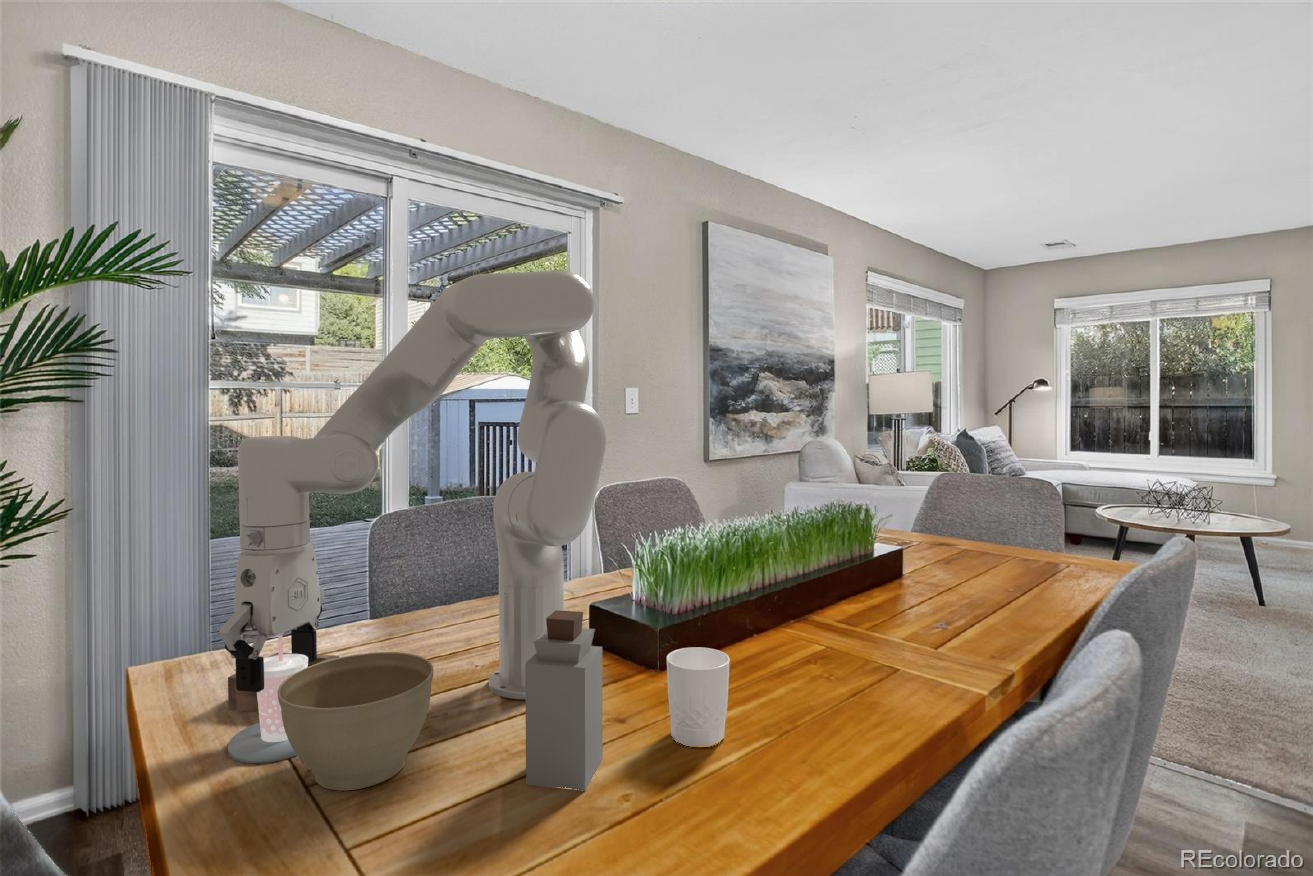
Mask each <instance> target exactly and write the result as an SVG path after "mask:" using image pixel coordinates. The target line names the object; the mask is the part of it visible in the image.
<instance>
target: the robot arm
mask: <svg viewBox="0 0 1313 876" xmlns="http://www.w3.org/2000/svg"><path fill="white" fill-rule="evenodd" d="M594 309H595V298H594V293H593V290H592V288H591V286H590V285H589V284H588V282H587V281H585V279H584V278H583V277H582V276H580V275H578V274H576V273H574V272H571V271H568V270H542V271H539V270H538V271H525V272H523V271H521V272H499V273H498V272H497V273H496V272H495V273H491V272H490V273H480V274H474V275H471V276H469V277H466V278H464V279H462V280H460V281H458V282H455V283H453V284H452V285H450V286H448V287H447V288H445V290H443V292H441V294H440V295H439V296H438V297H437V298H436V299H435V300H434V301H433V303H431V305H430V306H429V307H427V309H426V310H425V312H424V313H423V314H422V315H421V316H420V317H419V319H418V320H417V321H416V322H415V323H414V325H413V326H412V327H411V328H410V329H409V330H408V331H407V333H406V334H405V335H404V336H403V337H402V338H401V339H400V341H398V343H397V344H396V345H395V346H394V347H393V349H392V350H391V351H390V352H389V353H388V354H387V355H386V356H385V358H384V359H383V360H381V361H380V363H379V364H377V366H376V367H375V368H374V369H373V370H372V371H371V373H370V374H369V375H368V376H367V378H366V379H365V380H364V381H363V382H362V383H361V384H360V386H358V387H357V388H356V390H355V391H354V392H353V393H352V394H351V395H349V397H348V398H347V399H346V400H345V401H344V402H343V404H342V405H340V407H338V409H337V410H336V412H335V413H333V415H332V416H331V417H330V418H329V420H327V421H326V423H325V424H324V425H323V426H322V428H320V430H319V431H317V433H316V434H315V436H314V437H313V438H301V437H298V436H295V435H267V436H266V435H260V436H259V435H258V436H251V437H246V438H245V439H243V440H242V441H241V442H240V443H239V446H238V449H237V470H238V471H237V472H238V473H237V474H238V475H237V477H238V505H239V506H238V508H239V509H238V510H239V548H240V551H239V552H240V553H239V554H238V558H237V559H238V560H237V567H236V573H235V582H234V583H235V585H234V603H233V604H234V605H233V607H234V611H233V614H232V615H231V617H229V619H228V620H227V621H226V622H225V623H224V624H223V625H222V626H221V627H220V629H219V632H218V634H219V636H220V638H221V640H222V641H223V644H224V648H225V650H226V651H227V652H228V653H229V654H230V657H231V658H232V659H235V674H236V689H237V690H238V691H249V692H260V691H262V690H263V689H264V659H265V658H264V656H260V654H261V652H262V650H263V647H264V646H265V643H266V640H267V638H270V639H271V638H272V639H274V638H278V636H281V635H282V636H283V635H285V634H287V633H289V632H290V633H291V634H290V635H291V637H290V641H291V643H290V644H291V645H290V646H291V653H292V654H302V655H305V656H307V657H308V662H313V661H315V660H316V659H317V655H318V649H317V648H318V646H317V630H318V629H319V626H320V621H319V618H320V616H321V615H322V612H323V603H324V598H325V595H326V590H325V589H323V588H321V587H320V578H319V569H318V568H319V567H318V561H317V556H316V552H315V548H314V545H313V542H311V532H310V531H311V529H310V528H311V527H310V526H311V524H310V523H311V522H310V493H316V494H317V493H320V494H334V495H349V494H353V493H357V492H360V491H361V490H364V489H365V488H367V487H368V486H369V485H371V484H372V482H373V480H375V478H376V476H377V473H378V470H379V457H378V455H377V450H378V449H379V448H380V447H381V446H382V445H383V443H384V442H385V441H386V440H387V438H388V437H389V436H391V434H392V433H393V432H394V431H395V430H397V429H398V427H400V426H401V425H402V424H403V423H405V422H406V421H407V420H408V419H409V418H411V417H413V416H415V415H416V414H417V413H420V412H422V411H423V410H425V409H426V408H428V407H429V406H430V405H432V404H433V403H435V401H437V400H438V399H439V398H440V397H441V396H442V394H443V393H445V391H446V390H447V388H448V387H449V386H450V385H451V383H452V382H453V381H454V380H455V378H456V377H457V376H458V375H459V374H460V372H461V371H462V369H464V367H466V365H467V363H468V362H469V361H470V360H471V359H472V358H473V356H474V355H475V354H476V353H477V352H478V351H479V349H480V348H481V347H482V346H483V344H485V342H486V341H489V340H493V339H503V338H506V339H507V338H518V337H519V338H520V337H523V338H524V339H525V342H526V343H527V344H528V347H529V349H530V353H531V358H532V368H531V374H530V379H529V385H528V389H527V393H526V397H525V401H524V405H523V409H522V413H521V417H520V420H519V424H518V427H517V429H518V430H517V436H516V437H517V438H516V439H517V444H518V448H519V450H520V452H521V453H522V455H524V456H525V457H526V458H527V459H528V460H530V461H531V462H534V463H536V465H535V467H534V471H521V472H518V473H515V474H513V475H511V476H509V477H508V478H507V479H505V480H504V481H503V482H502V483H501V484H500V486H499V487H498V489H497V491H496V493H495V496H494V499H493V500H494V501H493V506H492V507H493V509H492V510H493V523H494V529H495V536H496V543H497V555H498V624H499V625H498V626H499V627H498V628H499V629H498V631H499V633H498V635H499V636H498V637H499V639H498V641H499V648H498V649H499V654H498V655H499V668H498V669H497V670H495V671H494V672H492V674H490V676H489V679H488V687H489V690H490V691H491V692H492V693H493V694H495V695H497V696H500V697H503V698H507V699H511V700H526V695H525V663H526V662H527V661H528V660H529V659H530V658H531V657H533V656H534V655H535V654H536V653H537V652H536V649H535V645H534V642H533V641H534V640H535V639H536V638H538V637H539V636H540V635H541V634H542V633H543V632H544V631H546V630H547V623H546V618H547V617H549V616H550V615H551V614H552V613H553V612H555V611H556V610H560V611H565V599H564V597H565V595H564V594H565V589H564V588H565V587H564V586H565V582H564V581H565V573H564V572H565V567H564V566H565V564H564V563H565V562H564V554H563V548H562V547H563V546H565V545H569V544H570V543H572V542H574V541H575V540H576V539H578V538H579V536H580V535H581V534H582V533H583V531H584V530H585V528H586V526H587V525H588V523H589V519H590V516H591V513H592V509H593V505H594V502H595V497H596V492H597V488H598V485H599V479H600V475H601V471H602V466H603V462H604V459H605V458H604V456H605V453H606V447H607V446H606V444H607V442H606V441H607V439H606V429H605V426H604V425H605V424H604V423H603V420H602V419H601V416H600V415H599V414H598V412H597V411H596V410H595V409H594V408H593V407H592V406H590V405H588V404H587V403H585V400H586V393H587V387H588V381H589V375H590V361H589V360H590V359H589V354H588V351H587V348H586V344H585V342H584V340H583V337H582V335H581V333H580V331H579V330H580V329H582V328H583V327H584V326H585V325H587V324H588V322H589V320H590V319H591V318H592V315H593V312H594ZM250 639H254V640H253V643H252V644H251V645H250V644H249V643H248V642H249V640H250Z"/></svg>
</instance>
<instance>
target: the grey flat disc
mask: <svg viewBox="0 0 1313 876" xmlns="http://www.w3.org/2000/svg"><path fill="white" fill-rule="evenodd" d="M227 746H228V756H229V757H230V758H231V759H233V760H235V761H237V762H239V763H240V762H241V763H246V764H263V763H274V762H279V761H284V760H288V759H291V758H295V757H298V755H297V754H296V753H295V751H294V749H293V748H292V746H291V744H290V742H289V740H286V741H280V742H266V741H263V740H262V739H261V730H260V722H258V723H254V724H252V725H250V726H247V727H246V728H244V729H242V730H240V731H239V732H237V733H236V734H235V735H233V736H232V737H231V739H230V740H229V741H228V744H227Z"/></svg>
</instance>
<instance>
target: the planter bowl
mask: <svg viewBox="0 0 1313 876" xmlns="http://www.w3.org/2000/svg"><path fill="white" fill-rule="evenodd" d="M433 678H434V665H433V664H432V662H431V661H430V660H428V659H427V658H425V657H423V656H420V655H418V654H417V655H416V654H414V653H407V652H397V651H396V652H395V651H382V652H379V651H378V652H368V653H359V654H352V655H351V654H350V655H345V656H341V657H340V656H339V658H335V659H331V660H327V661H324V662H320V663H317V664H315V665H312V666H309V667H307V668H304V669H302V670H300V671H298V672H296V673H294V674H293V675H291V676H290V677H288V678H287V679H286V680H284V681H283V682H282V683H281V685H280V686H279V689H278V700H279V704H280V706H281V714H282V721H283V725H284V729H285V732H286V735H287V738H288V740H289V742H290V744H291V746H292V748H293V749H294V751H295V753H296V754H297V755H298V756H297V757H298V758H299V759H300V761H301V762H302V763H303V764H304V765H305V766H306V767H307V768H308V770H309V769H310V771H312V772H313V775H314V778H315V782H317V784H318V785H320V786H321V787H323V788H324V789H327V790H332V791H353V790H361V789H364V788H365V789H366V788H369V787H371V786H375V785H377V784H378V785H379V784H380V783H383V782H385V781H387V780H389V779H391V778H392V777H394V776H395V775H396V774H398V773H399V772H400V771H401V770H402V769H403V768H404V766H405V764H406V761H407V754H408V753H409V751H410V750H411V749H412V747H413V745H414V743H415V742H416V741H417V739H418V737H419V735H420V733H421V731H422V729H423V727H424V724H425V721H426V718H427V717H428V716H427V715H428V712H429V708H430V705H431V704H430V703H431V695H432V682H433Z"/></svg>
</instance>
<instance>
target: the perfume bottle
mask: <svg viewBox="0 0 1313 876" xmlns="http://www.w3.org/2000/svg"><path fill="white" fill-rule="evenodd" d="M583 619H584V611H577V610H576V611H573V610H572V611H571V610H564V611H560V610H556V611H555V612H553V613H552V614H551V615H550V616H549V617H547V618H546V623H547V630H546V631H544V632H543V633H542V634H541V635H540V636H539V637H538V638H536V639H535V640H534V641H533V642H534V645H535V649H536V652H537V653H536V654H535V655H534V656H533V657H531V658H530V659H529V660H528V661H527V662H526V663H525V695H526V699H525V785H526V786H533V785H534V787H541V786H542V788H543V786H544V788H550V787H561V788H562V787H563V788H565V787H566V788H572V789H577V790H578V789H579V790H583V791H582V792H586V791H587V789H588V788H587V787H589V786H590V784H591V782H592V781H591V779H592V777H593V775H594V774H595V775H596V773H597V772H596V770H597V768H598V766H599V765H600V766H601V764H602V763H601V761H602V760H603V755H604V753H603V749H604V747H603V740H604V739H603V736H604V735H603V729H604V728H603V726H604V725H603V724H604V723H603V646H594V645H592V644H593V639H594V635H595V631H596V629H595V628H583ZM602 762H603V761H602ZM600 763H601V764H600ZM600 766H599V767H600ZM598 769H599V768H598ZM597 771H598V770H597ZM595 772H596V773H595ZM595 775H594V776H595ZM593 778H594V777H593ZM592 780H593V779H592ZM590 781H591V782H590ZM589 783H590V784H589ZM535 785H536V786H535ZM588 785H589V786H588ZM586 788H587V789H586ZM585 790H586V791H585Z"/></svg>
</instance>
